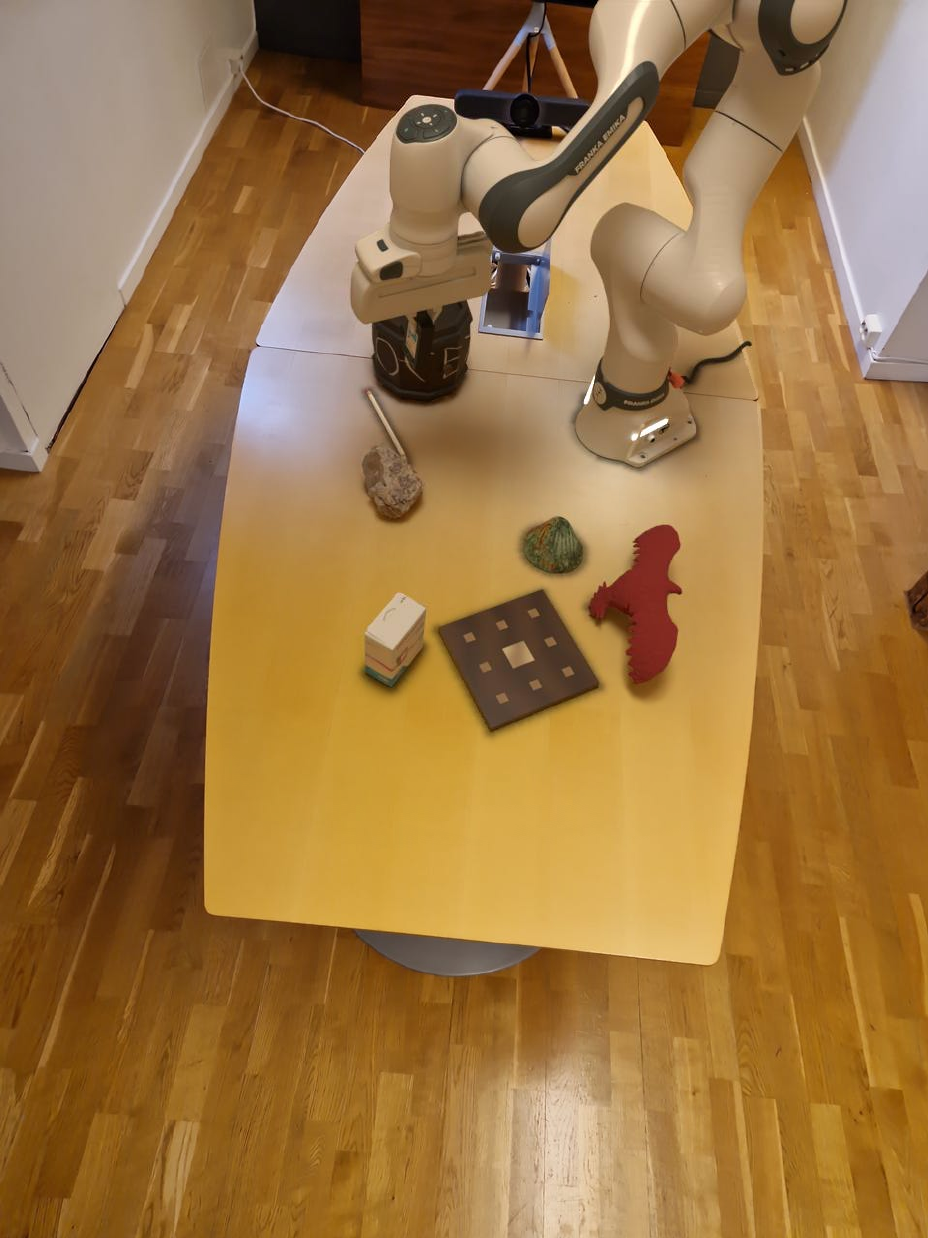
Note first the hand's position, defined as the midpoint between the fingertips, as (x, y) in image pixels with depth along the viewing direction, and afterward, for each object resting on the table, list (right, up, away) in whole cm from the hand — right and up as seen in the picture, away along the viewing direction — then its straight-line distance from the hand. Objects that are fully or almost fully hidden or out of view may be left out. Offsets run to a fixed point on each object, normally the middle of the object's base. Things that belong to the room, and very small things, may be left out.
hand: (421, 329), depth 119 cm
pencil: (-8, -8, +26) cm, 28 cm away
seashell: (+21, -31, +15) cm, 40 cm away
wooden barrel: (-2, +4, +34) cm, 34 cm away
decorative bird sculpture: (+32, -42, +9) cm, 53 cm away
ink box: (-4, -48, +2) cm, 49 cm away
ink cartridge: (-1, -3, +5) cm, 6 cm away
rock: (-6, -23, +18) cm, 29 cm away
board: (+14, -48, +4) cm, 50 cm away
